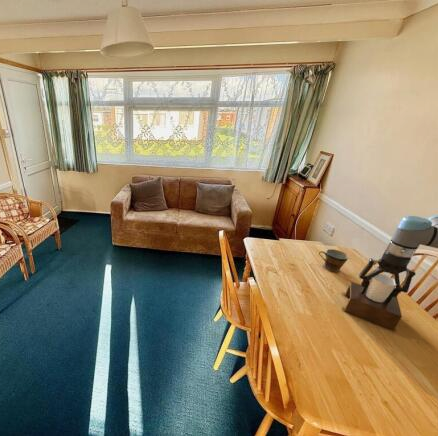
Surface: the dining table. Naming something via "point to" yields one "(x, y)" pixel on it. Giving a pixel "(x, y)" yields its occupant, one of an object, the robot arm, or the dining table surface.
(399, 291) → the robot arm
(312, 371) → the dining table surface
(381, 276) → the white cup
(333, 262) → the ceramic cup
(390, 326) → the dark brown wooden box
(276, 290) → the dining table surface
